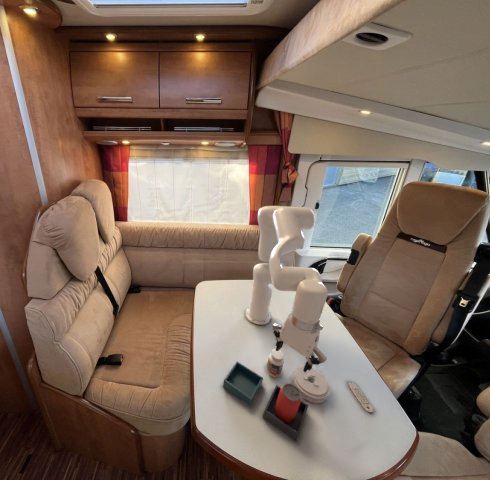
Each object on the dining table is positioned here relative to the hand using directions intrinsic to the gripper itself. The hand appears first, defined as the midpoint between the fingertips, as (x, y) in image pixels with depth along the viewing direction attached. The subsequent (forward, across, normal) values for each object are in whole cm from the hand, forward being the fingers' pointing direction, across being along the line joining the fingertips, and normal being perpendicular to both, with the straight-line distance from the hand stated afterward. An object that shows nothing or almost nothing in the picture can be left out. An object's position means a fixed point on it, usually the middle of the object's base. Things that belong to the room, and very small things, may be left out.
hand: (292, 358), depth 76 cm
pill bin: (+21, +12, +7) cm, 25 cm away
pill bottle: (+22, +8, -8) cm, 24 cm away
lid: (+22, -4, -12) cm, 25 cm away
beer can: (+21, -4, +4) cm, 22 cm away
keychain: (+22, -18, -23) cm, 37 cm away
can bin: (+21, -4, +4) cm, 22 cm away
